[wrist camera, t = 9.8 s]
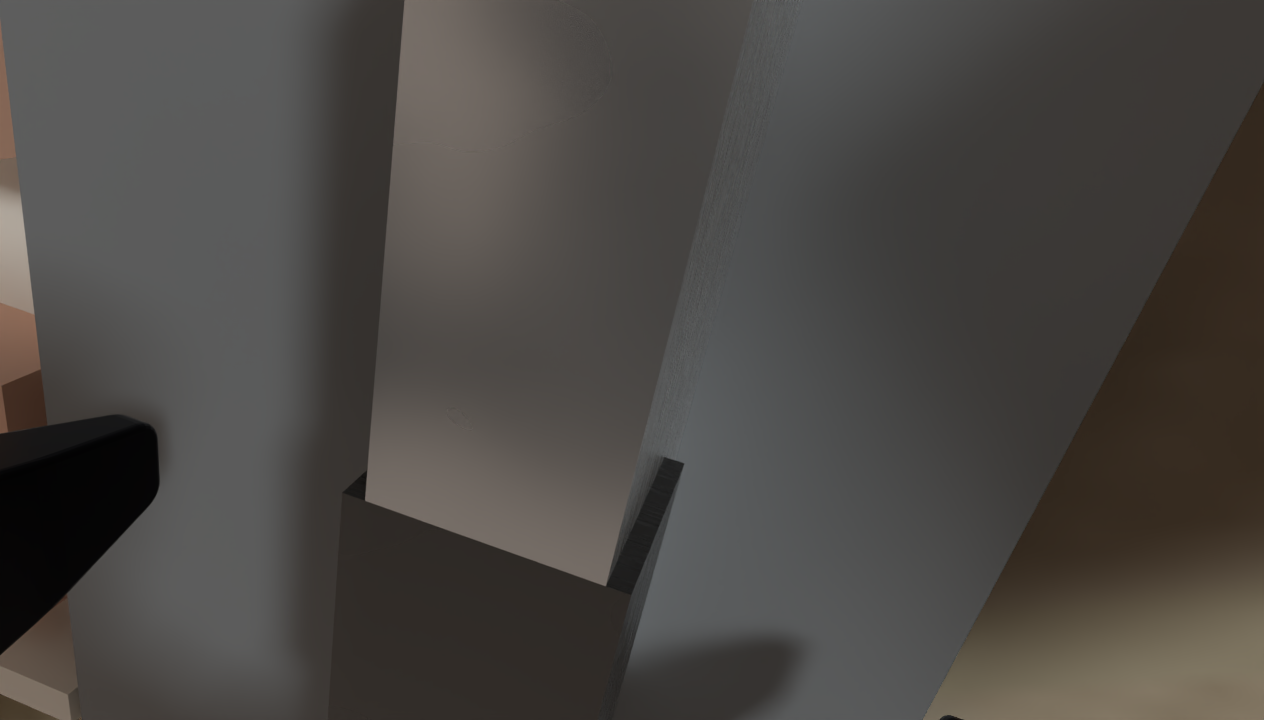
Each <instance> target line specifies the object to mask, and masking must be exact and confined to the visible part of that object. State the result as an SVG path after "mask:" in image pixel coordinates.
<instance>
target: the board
mask: <svg viewBox="0 0 1264 720" xmlns="http://www.w3.org/2000/svg"><path fill="white" fill-rule="evenodd" d="M404 1H405V0H0V23H1V32H2V40H3V49H4V57H5V66H6V74H7V83H8V92H9V100H10V109H11V117H12V126H13V134H14V143H15V152H16V160H17V169H18V177H19V186H20V194H21V203H22V211H23V220H24V229H25V237H26V246H27V254H28V263H29V271H30V280H31V289H32V297H33V306H34V314H35V323H36V331H37V340H38V349H39V357H40V366H41V374H42V383H43V391H44V400H45V409H46V417H47V425H53V424H59V423H65V422H71V421H77V420H82V419H88V418H94V417H100V416H106V415H112V414H122V415H127V416H130V417H132V418H135V419H138V420H141V421H143V422H146V423H148V424H150V425H151V426H153V427H154V429H155V430H156V432H157V435H158V450H159V472H160V486H159V490H158V492H157V495H156V497H155V499H154V500H153V502H152V503H151V504H150V506H149V507H148V508H147V509H146V510H145V511H144V512H143V513H142V514H141V515H140V516H139V518H138V519H137V520H136V521H135V522H134V523H133V524H132V525H131V526H130V527H129V528H128V529H127V530H126V531H125V532H124V534H123V535H122V536H121V537H120V538H119V539H118V540H117V541H116V542H115V543H114V544H113V545H112V546H111V547H110V548H109V550H108V551H107V552H106V553H105V554H104V555H103V556H102V557H101V558H100V559H99V560H98V561H97V562H96V563H95V564H94V566H93V567H92V568H91V569H90V570H89V571H88V572H87V573H86V574H85V575H84V576H83V577H82V578H81V579H80V580H79V582H78V583H77V584H76V585H75V586H74V587H73V588H72V589H71V590H70V591H69V592H68V593H67V597H68V606H69V614H70V623H71V631H72V640H73V648H74V657H75V666H76V674H77V683H78V691H79V700H80V708H81V717H82V720H328V706H329V691H330V675H331V659H332V644H333V628H334V612H335V597H336V581H337V565H338V549H339V534H340V518H341V502H342V492H343V491H344V490H346V489H347V488H348V487H349V486H350V485H351V484H352V483H353V482H354V481H356V480H357V479H358V478H359V477H360V476H361V475H362V474H363V473H364V472H365V471H367V469H368V456H369V443H370V431H371V418H372V405H373V393H374V380H375V367H376V355H377V342H378V329H379V317H380V304H381V292H382V279H383V266H384V254H385V241H386V228H387V216H388V203H389V190H390V178H391V165H392V152H393V140H394V127H395V114H396V102H397V89H398V76H399V64H400V51H401V39H402V26H403V13H404ZM1263 83H1264V0H802V3H801V7H800V11H799V14H798V18H797V21H796V25H795V29H794V32H793V36H792V39H791V43H790V47H789V50H788V54H787V58H786V61H785V65H784V68H783V72H782V76H781V79H780V83H779V87H778V90H777V94H776V97H775V101H774V105H773V108H772V112H771V115H770V119H769V123H768V126H767V130H766V134H765V137H764V141H763V144H762V148H761V152H760V155H759V159H758V163H757V166H756V170H755V173H754V177H753V181H752V184H751V188H750V192H749V195H748V199H747V202H746V206H745V210H744V213H743V217H742V220H741V224H740V228H739V231H738V235H737V239H736V242H735V246H734V249H733V253H732V257H731V260H730V264H729V268H728V271H727V275H726V278H725V282H724V286H723V289H722V293H721V297H720V300H719V304H718V307H717V311H716V315H715V318H714V322H713V325H712V329H711V333H710V336H709V340H708V344H707V347H706V351H705V354H704V358H703V362H702V365H701V369H700V373H699V376H698V380H697V383H696V387H695V391H694V394H693V398H692V402H691V405H690V409H689V412H688V416H687V420H686V423H685V427H684V430H683V434H682V438H681V441H680V445H679V449H678V452H677V456H676V459H675V460H676V461H679V462H682V463H685V464H684V467H683V471H682V474H681V478H680V481H679V485H678V488H677V492H676V495H675V499H674V502H673V506H672V509H671V513H670V517H669V520H668V524H667V527H666V531H665V534H664V538H663V541H662V545H661V548H660V552H659V555H658V559H657V563H656V566H655V570H654V573H653V577H652V580H651V584H650V587H649V591H648V594H647V598H646V601H645V605H644V609H643V612H642V616H641V619H640V623H639V626H638V630H637V633H636V637H635V640H634V644H633V647H632V651H631V655H630V658H629V662H628V665H627V669H626V672H625V676H624V679H623V683H622V686H621V690H620V693H619V697H618V700H617V704H616V708H615V711H614V715H613V718H612V720H923V718H924V716H925V714H926V712H927V710H928V709H929V707H930V705H931V703H932V701H933V699H934V697H935V695H936V694H937V692H938V690H939V688H940V686H941V684H942V682H943V681H944V679H945V677H946V675H947V673H948V671H949V669H950V667H951V666H952V664H953V662H954V660H955V658H956V656H957V654H958V652H959V651H960V649H961V647H962V645H963V643H964V641H965V639H966V638H967V636H968V634H969V632H970V630H971V628H972V626H973V624H974V623H975V621H976V619H977V617H978V615H979V613H980V611H981V610H982V608H983V606H984V604H985V602H986V600H987V598H988V596H989V595H990V593H991V591H992V589H993V587H994V585H995V583H996V581H997V580H998V578H999V576H1000V574H1001V572H1002V570H1003V568H1004V567H1005V565H1006V563H1007V561H1008V559H1009V557H1010V555H1011V553H1012V552H1013V550H1014V548H1015V546H1016V544H1017V542H1018V540H1019V539H1020V537H1021V535H1022V533H1023V531H1024V529H1025V527H1026V525H1027V524H1028V522H1029V520H1030V518H1031V516H1032V514H1033V512H1034V510H1035V509H1036V507H1037V505H1038V503H1039V501H1040V499H1041V497H1042V496H1043V494H1044V492H1045V490H1046V488H1047V486H1048V484H1049V482H1050V481H1051V479H1052V477H1053V475H1054V473H1055V471H1056V469H1057V468H1058V466H1059V464H1060V462H1061V460H1062V458H1063V456H1064V454H1065V453H1066V451H1067V449H1068V447H1069V445H1070V443H1071V441H1072V439H1073V438H1074V436H1075V434H1076V432H1077V430H1078V428H1079V426H1080V425H1081V423H1082V421H1083V419H1084V417H1085V415H1086V413H1087V411H1088V410H1089V408H1090V406H1091V404H1092V402H1093V400H1094V398H1095V396H1096V395H1097V393H1098V391H1099V389H1100V387H1101V385H1102V383H1103V382H1104V380H1105V378H1106V376H1107V374H1108V372H1109V370H1110V368H1111V367H1112V365H1113V363H1114V361H1115V359H1116V357H1117V355H1118V354H1119V352H1120V350H1121V348H1122V346H1123V344H1124V342H1125V340H1126V339H1127V337H1128V335H1129V333H1130V331H1131V329H1132V327H1133V325H1134V324H1135V322H1136V320H1137V318H1138V316H1139V314H1140V312H1141V311H1142V309H1143V307H1144V305H1145V303H1146V301H1147V299H1148V297H1149V296H1150V294H1151V292H1152V290H1153V288H1154V286H1155V284H1156V283H1157V281H1158V279H1159V277H1160V275H1161V273H1162V271H1163V269H1164V268H1165V266H1166V264H1167V262H1168V260H1169V258H1170V256H1171V254H1172V253H1173V251H1174V249H1175V247H1176V245H1177V243H1178V241H1179V240H1180V238H1181V236H1182V234H1183V232H1184V230H1185V228H1186V226H1187V225H1188V223H1189V221H1190V219H1191V217H1192V215H1193V213H1194V211H1195V210H1196V208H1197V206H1198V204H1199V202H1200V200H1201V198H1202V197H1203V195H1204V193H1205V191H1206V189H1207V187H1208V185H1209V183H1210V182H1211V180H1212V178H1213V176H1214V174H1215V172H1216V170H1217V169H1218V167H1219V165H1220V163H1221V161H1222V159H1223V157H1224V155H1225V154H1226V152H1227V150H1228V148H1229V146H1230V144H1231V142H1232V140H1233V139H1234V137H1235V135H1236V133H1237V131H1238V129H1239V127H1240V126H1241V124H1242V122H1243V120H1244V118H1245V116H1246V114H1247V112H1248V111H1249V109H1250V107H1251V105H1252V103H1253V101H1254V99H1255V98H1256V96H1257V94H1258V92H1259V90H1260V88H1261V86H1262V84H1263Z"/></svg>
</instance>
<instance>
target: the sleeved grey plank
mask: <svg viewBox="0 0 1264 720" xmlns="http://www.w3.org/2000/svg"><path fill="white" fill-rule="evenodd" d="M801 3H802V0H405V1H404V13H403V26H402V39H401V51H400V64H399V76H398V89H397V102H396V114H395V127H394V140H393V152H392V165H391V178H390V190H389V203H388V216H387V228H386V241H385V254H384V266H383V279H382V292H381V304H380V317H379V329H378V342H377V355H376V367H375V380H374V393H373V405H372V418H371V431H370V443H369V456H368V469H367V471H365V472H364V473H363V474H362V475H361V476H360V477H359V478H358V479H357V480H356V481H354V482H353V483H352V484H351V485H350V486H349V487H348V488H347V489H346V490H344V491H343V492H342V502H341V518H340V534H339V549H338V565H337V581H336V597H335V612H334V628H333V644H332V659H331V675H330V691H329V706H328V720H612V718H613V715H614V711H615V708H616V704H617V700H618V697H619V693H620V690H621V686H622V683H623V679H624V676H625V672H626V669H627V665H628V662H629V658H630V655H631V651H632V647H633V644H634V640H635V637H636V633H637V630H638V626H639V623H640V619H641V616H642V612H643V609H644V605H645V601H646V598H647V594H648V591H649V587H650V584H651V580H652V577H653V573H654V570H655V566H656V563H657V559H658V555H659V552H660V548H661V545H662V541H663V538H664V534H665V531H666V527H667V524H668V520H669V517H670V513H671V509H672V506H673V502H674V499H675V495H676V492H677V488H678V485H679V481H680V478H681V474H682V471H683V467H684V464H685V463H682V462H679V461H676V460H675V459H676V456H677V452H678V449H679V445H680V441H681V438H682V434H683V430H684V427H685V423H686V420H687V416H688V412H689V409H690V405H691V402H692V398H693V394H694V391H695V387H696V383H697V380H698V376H699V373H700V369H701V365H702V362H703V358H704V354H705V351H706V347H707V344H708V340H709V336H710V333H711V329H712V325H713V322H714V318H715V315H716V311H717V307H718V304H719V300H720V297H721V293H722V289H723V286H724V282H725V278H726V275H727V271H728V268H729V264H730V260H731V257H732V253H733V249H734V246H735V242H736V239H737V235H738V231H739V228H740V224H741V220H742V217H743V213H744V210H745V206H746V202H747V199H748V195H749V192H750V188H751V184H752V181H753V177H754V173H755V170H756V166H757V163H758V159H759V155H760V152H761V148H762V144H763V141H764V137H765V134H766V130H767V126H768V123H769V119H770V115H771V112H772V108H773V105H774V101H775V97H776V94H777V90H778V87H779V83H780V79H781V76H782V72H783V68H784V65H785V61H786V58H787V54H788V50H789V47H790V43H791V39H792V36H793V32H794V29H795V25H796V21H797V18H798V14H799V11H800V7H801Z"/></svg>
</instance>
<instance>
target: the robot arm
mask: <svg viewBox="0 0 1264 720" xmlns="http://www.w3.org/2000/svg"><path fill="white" fill-rule="evenodd" d="M159 486H160V472H159V450H158V435H157V432H156V430H155V429H154V427H153V426H151V425H150V424H148V423H146V422H143V421H141V420H138V419H135V418H132V417H130V416H127V415H122V414H112V415H106V416H100V417H94V418H88V419H82V420H77V421H71V422H65V423H59V424H53V425H47V426H41V427H35V428H29V429H23V430H17V431H11V432H5V433H0V655H1V654H3V653H4V652H5V651H6V650H7V649H8V648H9V647H10V646H12V645H13V644H14V643H15V642H16V641H17V640H18V639H19V638H21V637H22V636H23V635H24V634H25V633H26V632H27V631H28V630H29V629H31V628H32V627H33V626H34V625H35V624H36V623H37V622H38V621H39V620H40V619H42V618H43V617H44V616H45V615H46V614H47V613H48V612H49V611H50V610H51V609H52V608H53V607H54V606H55V605H56V604H57V603H58V602H59V601H60V600H61V599H62V598H63V597H64V596H65V595H66V594H67V593H68V592H69V591H70V590H71V589H72V588H73V587H74V586H75V585H76V584H77V583H78V582H79V580H80V579H81V578H82V577H83V576H84V575H85V574H86V573H87V572H88V571H89V570H90V569H91V568H92V567H93V566H94V564H95V563H96V562H97V561H98V560H99V559H100V558H101V557H102V556H103V555H104V554H105V553H106V552H107V551H108V550H109V548H110V547H111V546H112V545H113V544H114V543H115V542H116V541H117V540H118V539H119V538H120V537H121V536H122V535H123V534H124V532H125V531H126V530H127V529H128V528H129V527H130V526H131V525H132V524H133V523H134V522H135V521H136V520H137V519H138V518H139V516H140V515H141V514H142V513H143V512H144V511H145V510H146V509H147V508H148V507H149V506H150V504H151V503H152V502H153V500H154V499H155V497H156V495H157V492H158V490H159ZM940 720H963V719H960V718H957V717H954V716H951V715H947V716H943V717H942V718H941V719H940Z"/></svg>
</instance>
